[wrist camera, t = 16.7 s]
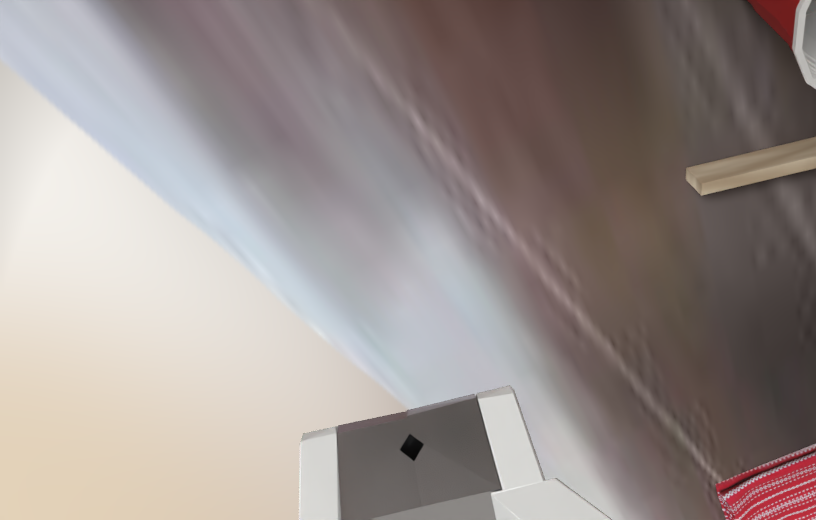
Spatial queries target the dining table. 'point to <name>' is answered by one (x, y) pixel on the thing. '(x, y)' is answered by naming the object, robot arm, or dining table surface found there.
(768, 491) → the dish towel
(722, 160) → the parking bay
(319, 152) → the dining table surface
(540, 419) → the dining table surface
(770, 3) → the plastic cup
